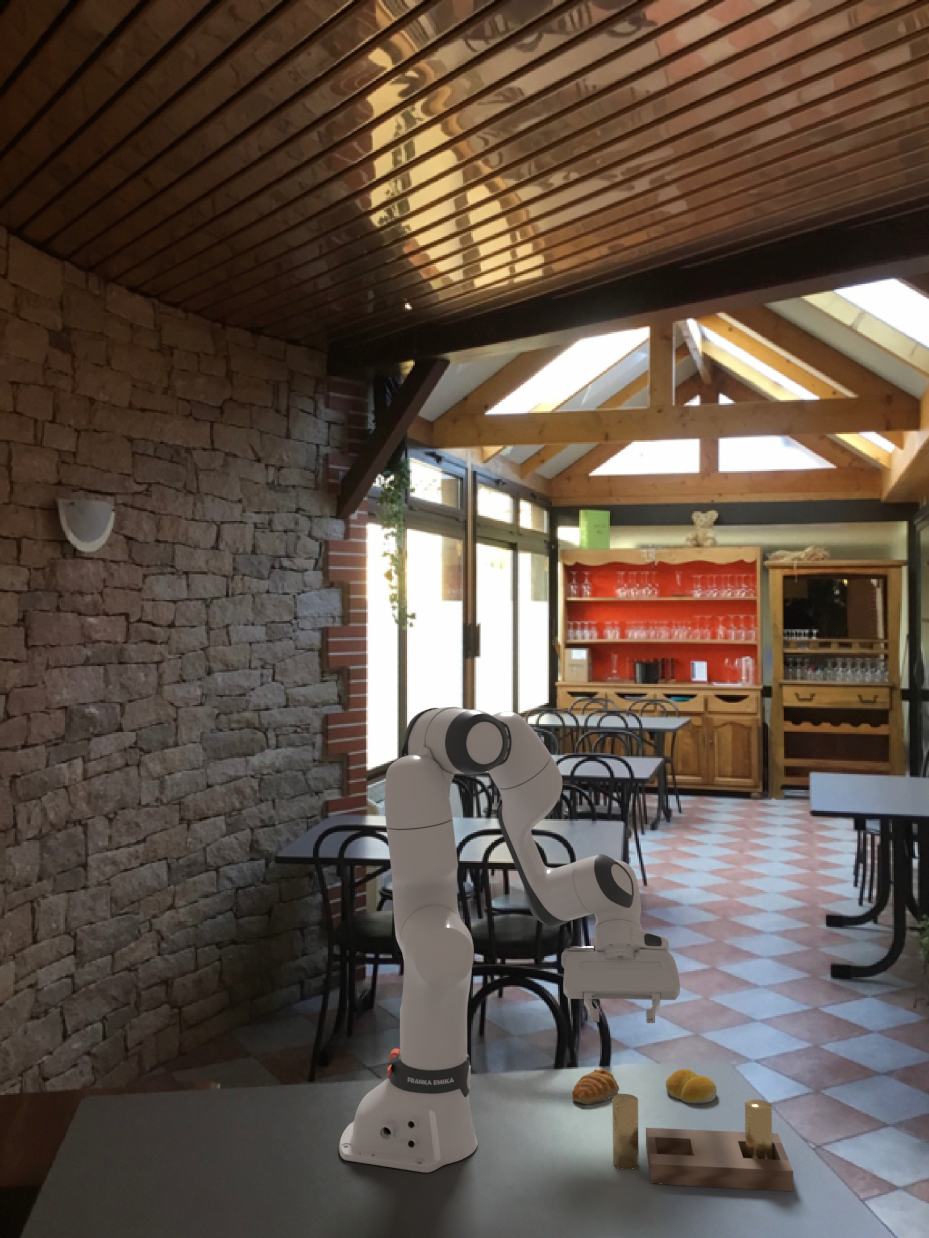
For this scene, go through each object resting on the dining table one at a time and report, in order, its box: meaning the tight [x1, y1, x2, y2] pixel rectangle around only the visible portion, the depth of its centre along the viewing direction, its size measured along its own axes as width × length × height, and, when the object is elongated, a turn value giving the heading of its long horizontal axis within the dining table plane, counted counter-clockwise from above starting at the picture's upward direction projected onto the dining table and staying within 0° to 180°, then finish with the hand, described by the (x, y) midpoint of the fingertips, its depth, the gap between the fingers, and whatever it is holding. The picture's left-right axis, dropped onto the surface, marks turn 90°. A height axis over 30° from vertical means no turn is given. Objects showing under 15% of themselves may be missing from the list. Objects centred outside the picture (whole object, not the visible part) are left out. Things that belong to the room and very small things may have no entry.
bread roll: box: [665, 1068, 717, 1105], centre depth 189 cm, size 8×9×4 cm
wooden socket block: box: [645, 1127, 794, 1192], centre depth 162 cm, size 21×12×3 cm, turn 84°
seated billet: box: [744, 1098, 773, 1160], centre depth 161 cm, size 4×4×10 cm
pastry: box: [571, 1068, 620, 1105], centre depth 188 cm, size 9×7×4 cm
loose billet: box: [611, 1093, 640, 1170], centre depth 164 cm, size 4×4×10 cm
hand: (622, 1021), depth 177 cm, fingers open, 8 cm apart
